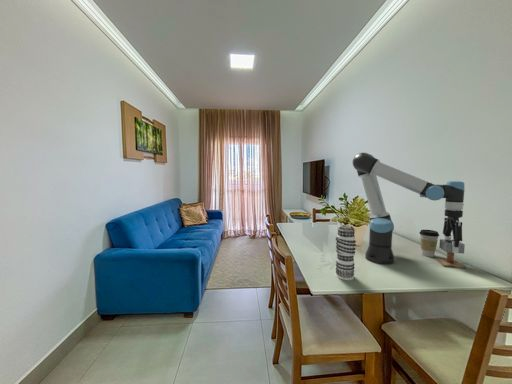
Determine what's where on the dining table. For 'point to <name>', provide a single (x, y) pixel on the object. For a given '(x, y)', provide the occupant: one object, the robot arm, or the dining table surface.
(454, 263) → the keeper
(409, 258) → the dining table surface
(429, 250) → the coffee cup
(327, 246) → the dining table surface
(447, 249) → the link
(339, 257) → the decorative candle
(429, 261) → the dining table surface
